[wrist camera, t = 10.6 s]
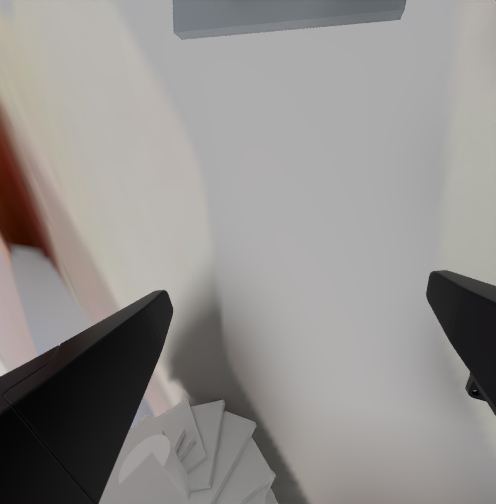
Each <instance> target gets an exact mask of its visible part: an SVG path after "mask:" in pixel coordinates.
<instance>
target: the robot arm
mask: <svg viewBox="0 0 496 504" xmlns="http://www.w3.org/2000/svg"><path fill="white" fill-rule="evenodd" d="M426 296H427V300H428V302H429V304H430V306H431V308H432V310H433V311H434V313H435V315H436V317H437V319H438V321H439V323H440V325H441V326H442V328H443V330H444V332H445V334H446V336H447V337H448V339H449V341H450V343H451V344H452V346H453V347H454V349H455V350H456V352H457V353H458V355H459V356H460V357H461V359H462V360H463V362H464V363H465V365H466V366H467V368H468V369H469V371H470V379H469V381H468V383H467V385H466V388H465V389H466V391H467V393H468V394H469V396H471V397H472V398H475V399H479V400H483V401H486V402H487V403H488V404H489V406H490V407H491V409H492V411H493V412H494V414H495V415H496V286H494V285H491V284H488V283H485V282H481V281H478V280H475V279H472V278H469V277H466V276H463V275H460V274H457V273H454V272H451V271H447V270H442V271H433V272H431V273H430V276H429V281H428V286H427V293H426ZM172 316H173V307H172V304H171V301H170V298H169V295H168V292H167V291H165V290H157V291H154V292H152V293H150V294H148V295H147V296H145V297H143V298H141V299H139V300H138V301H136V302H134V303H132V304H131V305H129V306H127V307H125V308H123V309H122V310H120V311H118V312H116V313H115V314H113V315H111V316H109V317H108V318H106V319H104V320H102V321H100V322H99V323H97V324H95V325H93V326H92V327H90V328H88V329H86V330H85V331H83V332H81V333H79V334H77V335H76V336H74V337H72V338H70V339H69V340H67V341H65V342H63V343H61V344H60V346H56V347H54V348H52V349H51V350H49V351H47V352H45V353H44V354H42V355H40V356H38V357H36V358H34V359H33V360H31V361H29V362H27V363H25V364H23V365H22V366H20V367H18V368H16V369H14V370H12V371H10V372H8V373H6V374H4V375H3V376H1V377H0V504H99V502H100V499H101V497H102V495H103V492H104V490H105V487H106V485H107V483H108V480H109V478H110V475H111V473H112V470H113V468H114V466H115V463H116V461H117V458H118V456H119V454H120V451H121V449H122V446H123V444H124V441H125V439H126V437H127V434H128V432H129V429H130V427H131V425H132V422H133V420H134V417H135V415H136V412H137V410H138V408H139V405H140V403H141V400H142V398H143V396H144V393H145V391H146V388H147V386H148V383H149V381H150V379H151V376H152V374H153V371H154V369H155V367H156V364H157V362H158V359H159V357H160V354H161V352H162V349H163V346H164V343H165V339H166V336H167V333H168V329H169V326H170V322H171V319H172ZM474 390H477V391H474Z"/></svg>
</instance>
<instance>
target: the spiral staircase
mask: <svg viewBox="0 0 496 504" xmlns="http://www.w3.org/2000/svg"><path fill="white" fill-rule="evenodd" d="M224 407H225V401H224V400H219V401H215V402H210V403H205V404H201V405H196V406H190V403H189V401H188V399H185V400H184V401H182V402H181V403H179V404H178V405H176V406H174V407H173V408H171V409H170V410H168V411H167V412H165V413H163V414H162V415H160V416H159V417H157V418H156V419H155V418H153V417H152V416H150V415H148V414H146V415H145V416H144V417H143V418H142V419H141V420H140V421H139V422H138V423H137V425H135V426H134V428H130V429H129V432H128V434H127V437H126V439H125V441H124V444H123V446H122V449H121V451H120V454H119V456H118V458H117V461H116V463H115V466H114V468H113V470H112V473H111V475H110V478H109V480H108V483H107V485H106V487H105V490H104V492H103V495H102V497H101V499H100V502H99V504H279V503H278V502H277V500H276V498H275V496H274V493H273V491H272V489H271V485H272V483H273V481H274V479H275V477H276V475H275V472H273V471H271V469H270V467H269V466H268V464H267V462H266V460H265V459H264V457H263V455H262V453H261V452H260V450H259V448H258V446H257V445H256V443H255V441H254V439H253V438H252V434H253V432H254V430H255V428H256V426H257V425H256V422H254V421H251V420H248V419H246V418H243V417H240V416H238V415H235V414H232V413H230V412H227V411H225V412H224Z"/></svg>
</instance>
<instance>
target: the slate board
mask: <svg viewBox="0 0 496 504" xmlns="http://www.w3.org/2000/svg"><path fill="white" fill-rule="evenodd" d="M405 4H406V0H173V22H174V33H175V34H176V35H177V36H178V37H180V38H181V39H194V38H204V37H215V36H226V35H237V34H248V33H259V32H270V31H280V30H292V29H303V28H314V27H325V26H335V25H346V24H357V23H369V22H380V21H390V20H400V19H401V16H402V13H403V11H404V8H405Z"/></svg>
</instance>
